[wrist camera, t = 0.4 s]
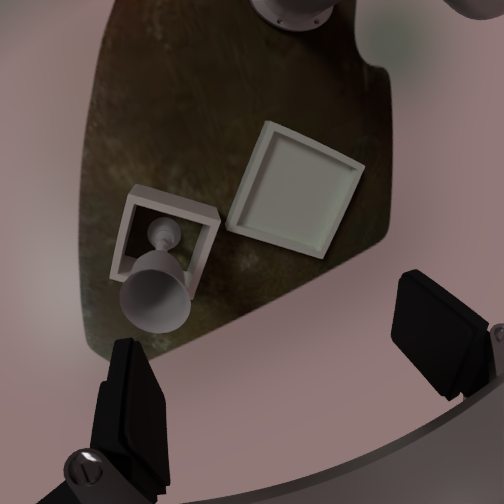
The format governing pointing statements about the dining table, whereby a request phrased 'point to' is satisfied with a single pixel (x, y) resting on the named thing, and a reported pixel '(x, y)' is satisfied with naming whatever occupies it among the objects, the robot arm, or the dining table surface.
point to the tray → (293, 192)
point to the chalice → (157, 283)
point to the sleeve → (174, 207)
